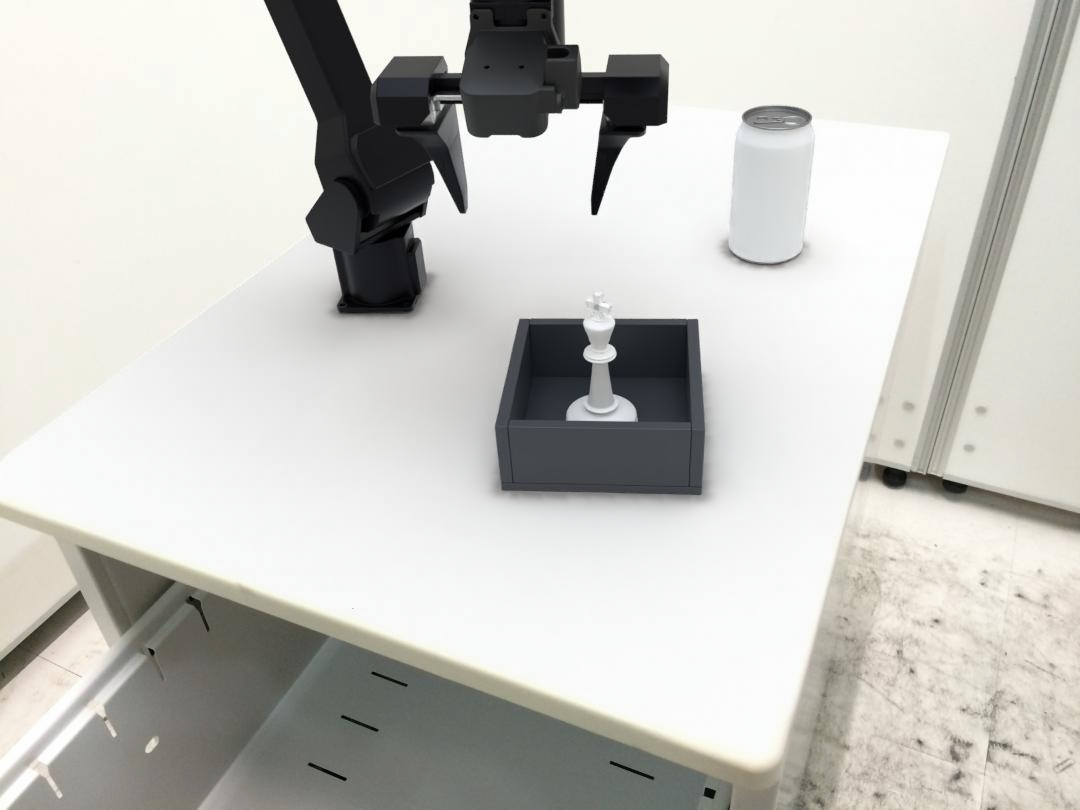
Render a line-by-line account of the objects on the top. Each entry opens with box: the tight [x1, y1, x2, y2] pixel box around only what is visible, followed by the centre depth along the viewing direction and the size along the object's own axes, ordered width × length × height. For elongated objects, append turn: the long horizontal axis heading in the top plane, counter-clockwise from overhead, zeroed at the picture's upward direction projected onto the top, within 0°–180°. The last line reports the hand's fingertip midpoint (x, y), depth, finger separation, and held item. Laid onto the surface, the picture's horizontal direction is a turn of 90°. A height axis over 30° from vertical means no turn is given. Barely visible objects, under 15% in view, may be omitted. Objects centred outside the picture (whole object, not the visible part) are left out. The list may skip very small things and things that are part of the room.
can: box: [728, 104, 816, 265], centre depth 80 cm, size 6×6×12 cm
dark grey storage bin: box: [494, 317, 706, 495], centre depth 63 cm, size 13×13×5 cm
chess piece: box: [566, 291, 638, 422], centre depth 61 cm, size 5×5×10 cm
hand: (528, 212), depth 66 cm, fingers open, 9 cm apart
